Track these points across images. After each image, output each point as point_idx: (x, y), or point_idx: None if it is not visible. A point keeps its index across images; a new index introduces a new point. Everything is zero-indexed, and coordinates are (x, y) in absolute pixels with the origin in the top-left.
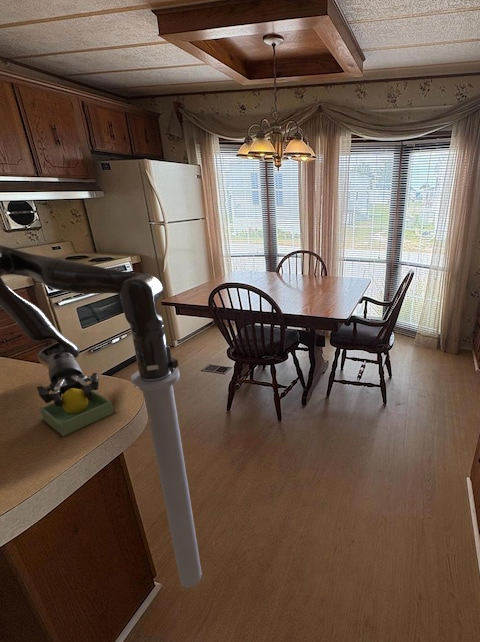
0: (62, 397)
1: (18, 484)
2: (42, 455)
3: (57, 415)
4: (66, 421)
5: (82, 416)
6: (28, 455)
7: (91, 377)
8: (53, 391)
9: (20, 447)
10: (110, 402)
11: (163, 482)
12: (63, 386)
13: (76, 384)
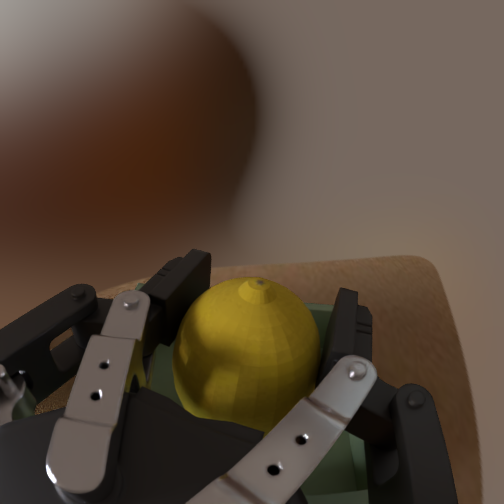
0: (317, 336)
1: (428, 281)
2: (394, 317)
3: (312, 490)
4: (328, 305)
5: None
6: (424, 340)
7: (8, 376)
8: (362, 394)
9: (445, 386)
10: (143, 284)
11: None
12: (255, 435)
13: (149, 393)
